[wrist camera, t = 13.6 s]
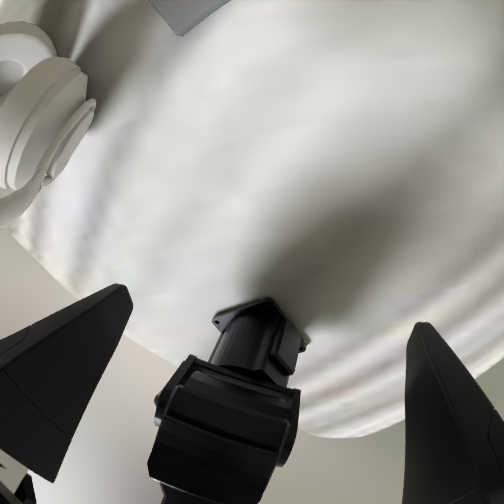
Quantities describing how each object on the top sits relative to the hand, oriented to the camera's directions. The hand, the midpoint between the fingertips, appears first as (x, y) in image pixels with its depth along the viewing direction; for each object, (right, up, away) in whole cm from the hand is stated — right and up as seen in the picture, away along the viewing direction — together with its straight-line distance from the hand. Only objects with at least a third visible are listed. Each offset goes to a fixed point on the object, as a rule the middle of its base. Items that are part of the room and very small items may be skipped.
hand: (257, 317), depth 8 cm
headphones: (-16, +16, +10) cm, 25 cm away
